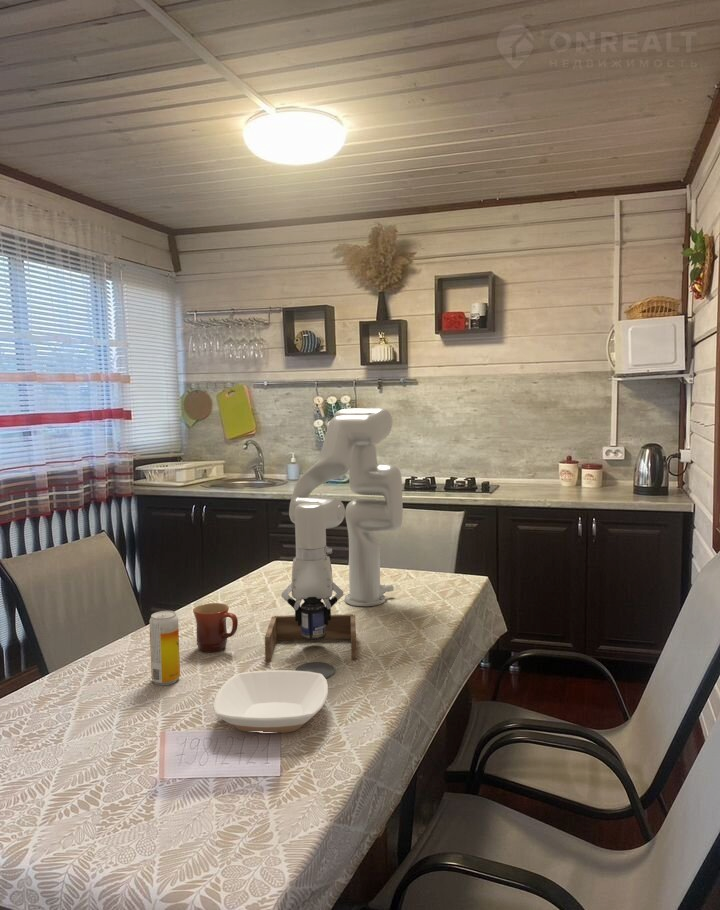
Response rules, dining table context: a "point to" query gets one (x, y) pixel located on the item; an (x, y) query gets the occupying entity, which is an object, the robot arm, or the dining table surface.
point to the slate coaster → (318, 668)
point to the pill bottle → (313, 619)
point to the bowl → (271, 700)
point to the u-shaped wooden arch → (291, 631)
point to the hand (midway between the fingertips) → (313, 622)
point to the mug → (213, 626)
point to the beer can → (164, 647)
